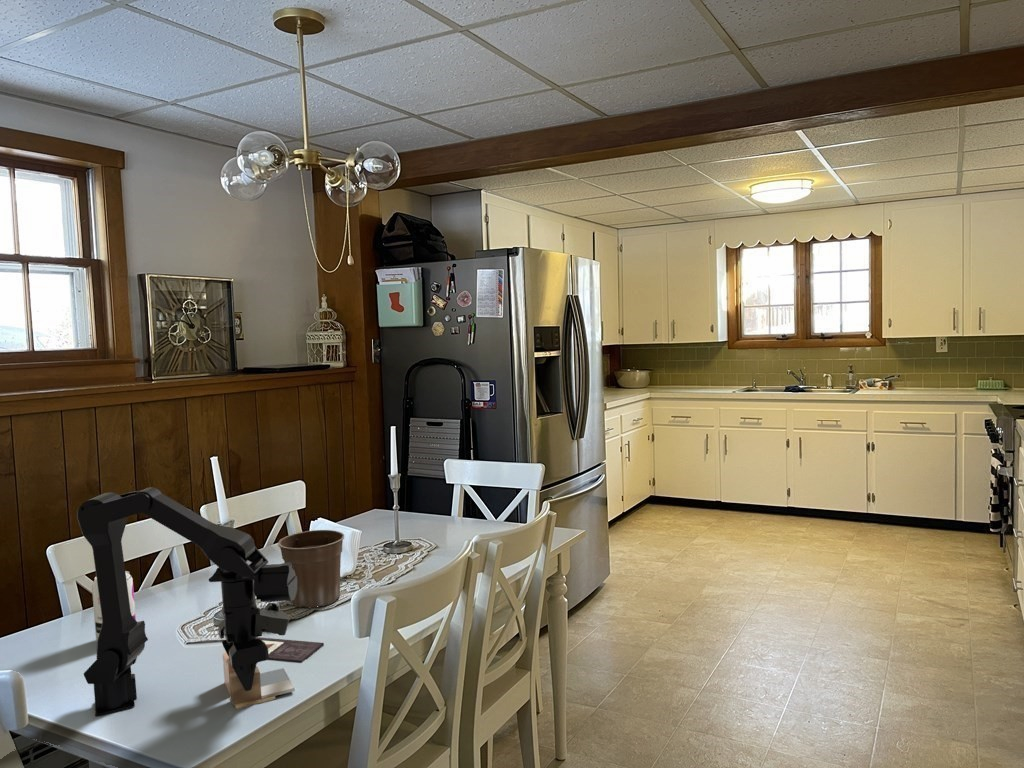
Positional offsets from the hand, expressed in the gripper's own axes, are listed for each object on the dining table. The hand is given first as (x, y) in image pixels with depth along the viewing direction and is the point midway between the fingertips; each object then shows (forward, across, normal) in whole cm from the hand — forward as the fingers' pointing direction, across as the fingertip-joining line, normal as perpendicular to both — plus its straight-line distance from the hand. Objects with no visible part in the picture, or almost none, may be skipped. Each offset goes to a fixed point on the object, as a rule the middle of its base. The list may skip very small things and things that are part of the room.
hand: (245, 684), depth 143 cm
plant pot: (+3, +47, -24) cm, 53 cm away
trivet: (+3, +6, -4) cm, 8 cm away
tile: (+3, +7, +2) cm, 8 cm away
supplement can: (+2, +47, +21) cm, 51 cm away
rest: (+3, 0, -1) cm, 4 cm away
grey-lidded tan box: (+3, 0, -3) cm, 4 cm away
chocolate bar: (+4, +21, -9) cm, 23 cm away
